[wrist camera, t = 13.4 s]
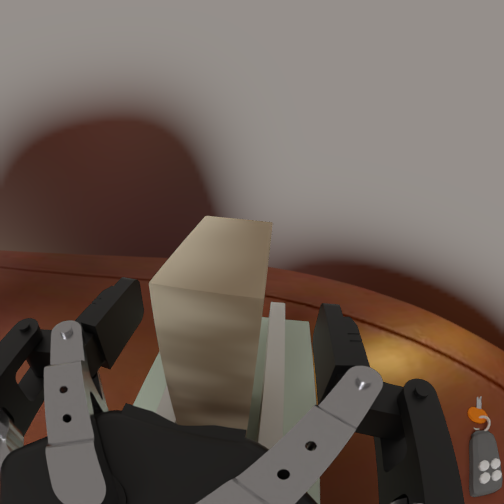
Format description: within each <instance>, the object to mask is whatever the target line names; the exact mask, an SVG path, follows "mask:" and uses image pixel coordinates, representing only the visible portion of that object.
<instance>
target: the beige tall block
mask: <svg viewBox="0 0 504 504" xmlns="http://www.w3.org/2000/svg"><path fill="white" fill-rule="evenodd" d="M271 232H272V222H263V221H253V220H244V219H233V218H223V217H211V216H205V217H204V219H203V220H202V221H201V222H200V223H199V224H198V225H197V226H196V228H195V229H194V230H193V231H192V232H191V233H190V234H189V236H188V237H187V238H186V239H185V240H184V241H183V243H182V244H181V245H180V246H179V247H178V248H177V249H176V251H175V252H174V253H173V254H172V255H171V257H170V258H169V259H168V260H167V261H166V263H165V264H164V265H163V266H162V267H161V269H160V270H159V271H158V272H157V273H156V275H155V276H154V277H153V278H152V280H151V281H150V282H149V289H150V296H151V303H152V310H153V316H154V323H155V329H156V334H157V340H158V345H159V350H160V355H161V360H162V365H163V370H164V374H165V379H166V383H167V387H168V391H169V395H170V399H171V403H172V407H173V411H174V415H175V418H176V422H177V424H178V425H183V426H202V425H217V426H223V427H229V428H237V429H244V430H246V434H247V427H248V420H249V413H250V406H251V399H252V391H253V384H254V376H255V368H256V361H257V353H258V345H259V337H260V329H261V320H262V312H263V304H264V295H265V286H266V278H267V269H268V260H269V250H270V241H271ZM245 438H246V436H245Z"/></svg>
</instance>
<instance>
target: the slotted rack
mask: <svg viewBox="0 0 504 504" xmlns="http://www.w3.org/2000/svg"><path fill="white" fill-rule="evenodd" d="M314 405H316V393H315V380H314V368H313V357H312V347H311V337H310V328H309V322H307V321H296V320H285V303H277V302H271V306H270V313H269V318H266V317H262V320H261V329H260V337H259V345H258V353H257V361H256V368H255V376H254V384H253V391H252V399H251V406H250V413H249V420H248V427H247V434H246V438H248V439H251V440H253V441H256V442H258V443H260V444H261V445H263V446H265V447H266V448H268V449H271V448H272V447H273V446H274V445H275V444H276V443H277V442H278V441H279V440H280V439H281V438H282V437H283V436H284V435H285V434H286V433H287V432H289V431H290V430H291V429H292V428H293V427H294V426H295V425H296V424H297V423H298V421H299V420H300V419H301V418H302V417H303V416H304V415H305V414H306V413H307V412H308V411H309V410H310V409H311V408H312V407H313V406H314ZM133 406H136V407H140V408H143V409H146V410H150V411H153V412H155V413H157V414H158V415H160V416H162V417H164V418H166V419H168V420H170V421H172V422H174V423H176V424H177V422H176V418H175V415H174V411H173V407H172V403H171V399H170V395H169V391H168V387H167V383H166V379H165V374H164V370H163V365H162V360H161V355H160V351H159V353H158V355H157V357H156V359H155V361H154V363H153V365H152V367H151V369H150V371H149V373H148V375H147V377H146V379H145V381H144V383H143V385H142V387H141V389H140V392H139V394H138V396H137V398H136V400H135V402H134V404H133ZM307 493H308V494H309V495H310V496H311V497H312V498H313V499H314V500H315V501H316V502H317V503H318V504H320V477H319V478H318V479H317V481H316V482H315V483H314V484H313V485H312V486H311V487H310V488H309V490H308V491H307Z"/></svg>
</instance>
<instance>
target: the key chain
mask: <svg viewBox="0 0 504 504" xmlns="http://www.w3.org/2000/svg"><path fill="white" fill-rule="evenodd" d="M481 398H482V397H480V399H478V397H477V406H476V407H471V408H469V410H468V417H469V418H470V419H471V420H472V421H473V422H475V423H479V424H481V423H484V422H485V421H486V420H487V421H488V426H487V428H486V429H485V430H482V431H475V432H474V433H473V434H472V439H471V440H470V443H469V461H470V474H469V491H470V496H472V497H478V496H483V495H487V494H491V493H494V492H496V491H497V490H499V489H500V488H501V487H502V472H501V465H500V463H501V462H500V459H499V454H498V449H497V444H496V440H495V438H494V436H493V434H491V433H490V432H489V431H487V430H488V429H489V427H490V425H491V422H490V419H489V417H487V414H486V412H485V411H484V410H483V409H481ZM474 429H475V430H479V429H480V428H478V429H477V428H474Z"/></svg>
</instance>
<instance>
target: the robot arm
mask: <svg viewBox="0 0 504 504" xmlns="http://www.w3.org/2000/svg"><path fill="white" fill-rule="evenodd" d="M143 313H144V307H143V301H142V295H141V288H140V283H139V281H138V280H136V279H130V278H124V277H123V278H121V279H120V280H119V281H118V282H117V283H116V284H115V285H114V286H111V287H109V288H107V289H105V290H104V291H102V292H101V293H100V294H99V295H98V296H97V299H95V300H94V301H93V302H92V304H90V305H89V306H88V307H87V308H86V309H85V310H84V311H83V313H82V314H81V315H80V316H79V317H78V318H77V319H76V320H75V321H63V322H61V323H59V324H57V325H56V326H55V327H54V328H53V330H42V329H40V327H39V325H38V322H37V321H36V320H35V319H32V318H27V319H23V320H21V321H19V322H18V323H17V324H16V325H15V326H14V327H13V328H12V329H11V330H10V331H9V332H8V334H7V335H6V336H5V337H4V338H3V339H2V340H1V341H0V504H318V503H317V502H316V501H315V500H314V499H313V498H312V497H311V496H310V495H309V494H308V493H307V491H308V490H309V488H310V487H311V486H312V485H313V484H314V483H315V482H316V481H317V479H318V478H319V477H320V476H321V475H322V474H323V472H324V471H325V470H326V469H327V468H328V466H329V465H330V464H331V463H332V462H333V460H334V459H335V458H336V456H337V455H338V454H339V453H340V451H341V450H342V449H343V447H344V446H345V445H346V443H347V442H348V440H349V439H350V438H351V436H352V435H353V433H354V432H357V433H361V434H365V435H370V436H374V442H375V451H376V461H377V473H378V488H379V504H464V497H463V491H462V486H461V480H460V475H459V470H458V466H457V462H456V457H455V453H454V449H453V445H452V442H451V438H450V434H449V431H448V427H447V424H446V421H445V418H444V414H443V411H442V408H441V405H440V402H439V399H438V396H437V394H436V391H435V389H434V387H433V386H432V385H431V384H430V383H428V382H427V381H425V380H422V379H412V380H409V381H408V382H407V383H406V384H405V386H404V387H401V386H397V385H392V384H388V383H385V382H383V380H382V377H381V376H380V374H379V373H378V372H377V371H375V370H374V369H372V368H370V365H369V362H368V359H367V355H366V352H365V349H364V346H363V342H362V339H361V336H360V333H359V330H358V327H357V325H356V323H355V322H354V321H353V320H352V319H351V318H350V317H343V315H342V311H341V308H340V305H337V304H325V303H322V304H321V306H320V310H319V314H318V318H317V322H316V326H315V329H314V334H313V353H314V363H315V373H316V384H317V396H318V405H314V406H313V407H312V408H311V409H310V410H309V411H308V412H307V413H306V414H305V415H304V416H303V417H302V418H301V419H300V420H299V421H298V423H297V424H296V425H295V426H294V427H293V428H292V429H291V430H290V431H289V432H287V433H286V434H285V435H284V436H283V437H282V438H281V439H280V440H279V441H278V442H277V443H276V444H275V445H274V446H273V447H272V448H271V449H268V448H266V447H265V446H263V445H261V444H260V443H258V442H256V441H253V440H251V439H248V438H245V436H246V430H244V429H237V428H229V427H223V426H217V425H202V426H183V425H178V424H176V423H174V422H172V421H170V420H168V419H166V418H164V417H162V416H160V415H158V414H157V413H155V412H153V411H150V410H146V409H143V408H140V407H136V406H133V405H130V404H127V403H126V404H125V406H124V408H123V410H122V411H121V410H113V411H108V408H107V405H106V401H105V397H104V392H103V388H102V383H101V378H100V374H99V371H98V369H99V368H100V366H102V367H105V368H108V369H111V367H112V366H113V364H114V362H115V361H116V359H117V358H118V356H119V354H120V353H121V351H122V350H123V348H124V347H125V345H126V343H127V342H128V340H129V339H130V337H131V336H132V334H133V333H134V331H135V330H136V328H137V327H138V325H139V324H140V322H141V320H142V318H143ZM25 360H27V362H28V364H29V366H30V368H29V370H28V371H27V372H26V374H25V375H24V377H23V378H22V379H21V381H20V382H19V384H17V382H16V379H15V376H16V372H17V371H18V369H19V368H20V366H21V365H22V364H23V362H24V361H25ZM43 401H45V416H46V426H47V435H48V436H47V437H45V438H42V439H40V440H37V441H35V442H32V443H30V444H27V445H24V444H23V443H24V438H23V437H24V435H25V433H26V431H27V430H28V428H29V426H30V424H31V422H32V420H33V419H34V417H35V415H36V413H37V412H38V410H39V408H40V406H41V405H42V403H43Z"/></svg>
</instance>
